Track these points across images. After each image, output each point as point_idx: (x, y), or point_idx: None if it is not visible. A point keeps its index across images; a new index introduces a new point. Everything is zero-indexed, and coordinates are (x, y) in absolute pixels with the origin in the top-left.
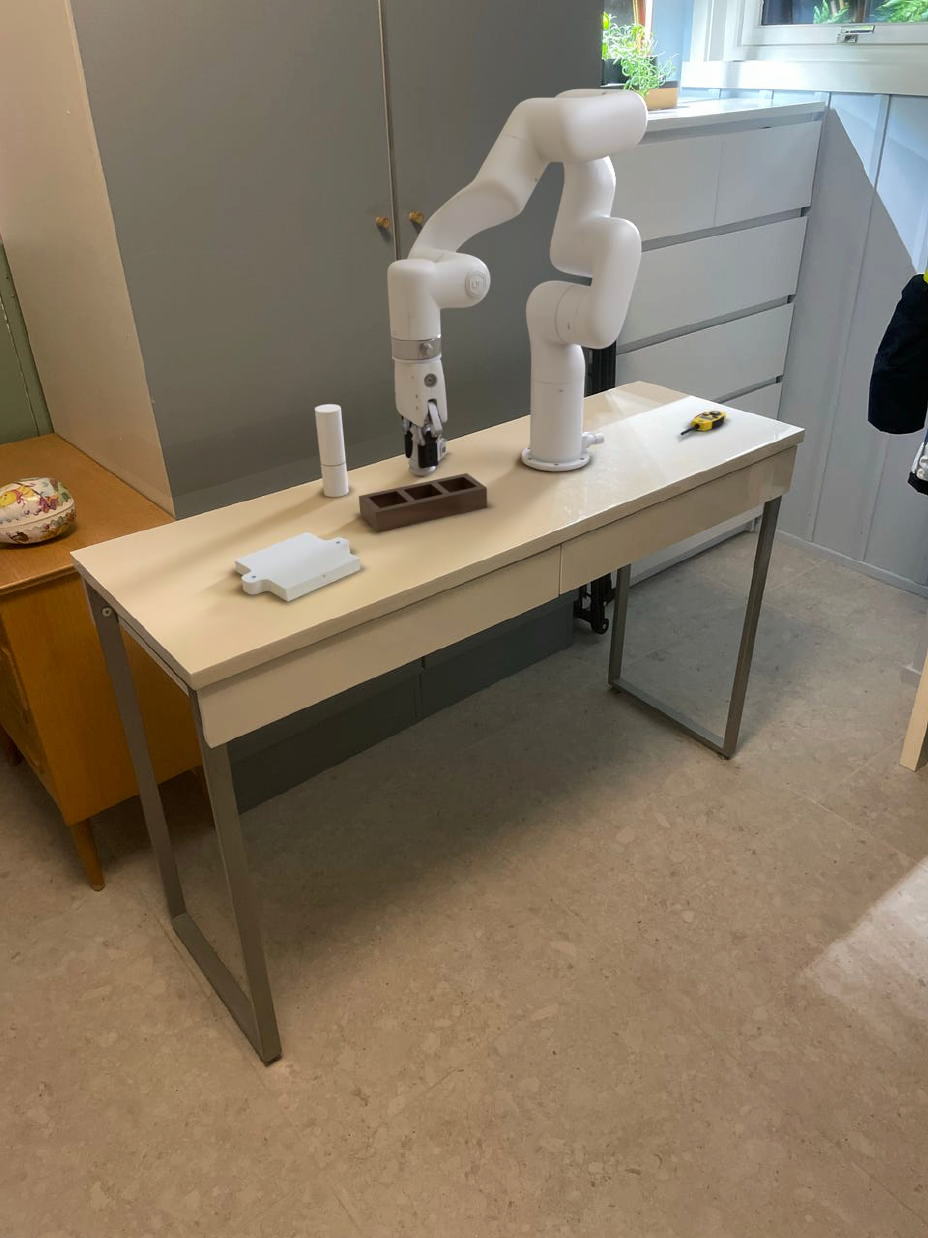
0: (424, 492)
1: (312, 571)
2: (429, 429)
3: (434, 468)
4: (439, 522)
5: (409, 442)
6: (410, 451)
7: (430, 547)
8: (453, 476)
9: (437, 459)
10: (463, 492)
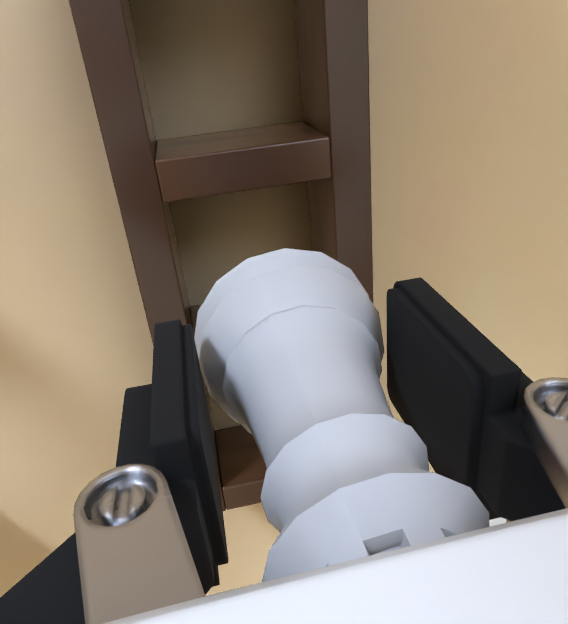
0: (170, 228)
1: None
2: (455, 486)
3: (335, 264)
4: (375, 203)
5: (219, 502)
6: (213, 444)
7: (538, 290)
8: (86, 17)
9: (437, 294)
10: (362, 57)
